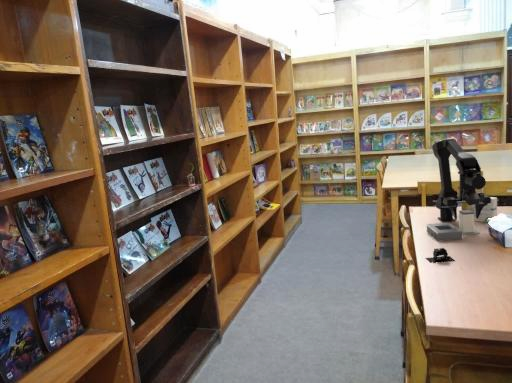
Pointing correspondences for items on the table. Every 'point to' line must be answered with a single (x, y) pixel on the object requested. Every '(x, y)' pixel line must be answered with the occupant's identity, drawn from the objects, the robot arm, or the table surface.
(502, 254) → the table surface
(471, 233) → the mat
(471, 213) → the plug
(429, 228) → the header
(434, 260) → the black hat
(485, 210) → the ink box
